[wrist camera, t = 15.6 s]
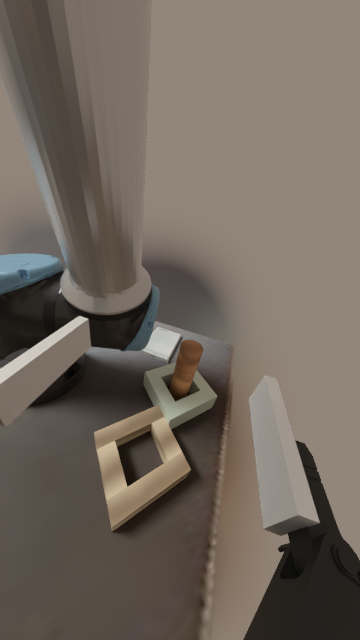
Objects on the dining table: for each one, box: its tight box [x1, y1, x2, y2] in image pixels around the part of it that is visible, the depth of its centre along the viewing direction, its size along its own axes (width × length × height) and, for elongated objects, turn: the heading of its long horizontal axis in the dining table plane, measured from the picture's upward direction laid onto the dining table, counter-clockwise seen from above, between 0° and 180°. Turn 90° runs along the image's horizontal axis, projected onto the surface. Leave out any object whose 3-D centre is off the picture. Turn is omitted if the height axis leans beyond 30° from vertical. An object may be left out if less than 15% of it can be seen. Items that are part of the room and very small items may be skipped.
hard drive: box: [139, 327, 181, 363], centre depth 51 cm, size 2×8×12 cm
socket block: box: [143, 362, 217, 429], centre depth 37 cm, size 11×11×4 cm
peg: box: [169, 340, 203, 402], centre depth 35 cm, size 4×4×14 cm
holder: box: [94, 405, 191, 532], centre depth 27 cm, size 11×11×2 cm
